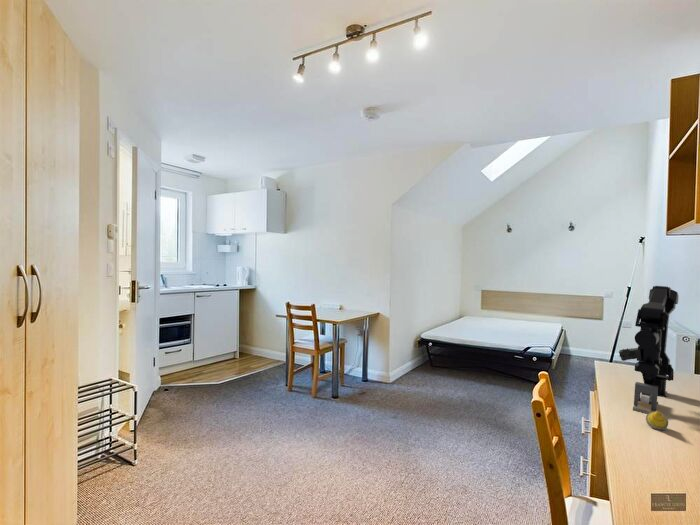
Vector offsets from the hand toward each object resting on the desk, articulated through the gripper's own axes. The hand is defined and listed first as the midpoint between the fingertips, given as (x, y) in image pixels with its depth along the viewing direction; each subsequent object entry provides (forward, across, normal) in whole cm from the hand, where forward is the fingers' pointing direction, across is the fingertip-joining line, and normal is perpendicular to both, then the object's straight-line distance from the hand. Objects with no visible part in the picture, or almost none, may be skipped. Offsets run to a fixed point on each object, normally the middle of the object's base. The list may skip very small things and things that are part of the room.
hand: (646, 388), depth 133 cm
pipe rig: (+7, 0, 0) cm, 7 cm away
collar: (+6, +3, 0) cm, 6 cm away
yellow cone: (+7, +18, +4) cm, 20 cm away
